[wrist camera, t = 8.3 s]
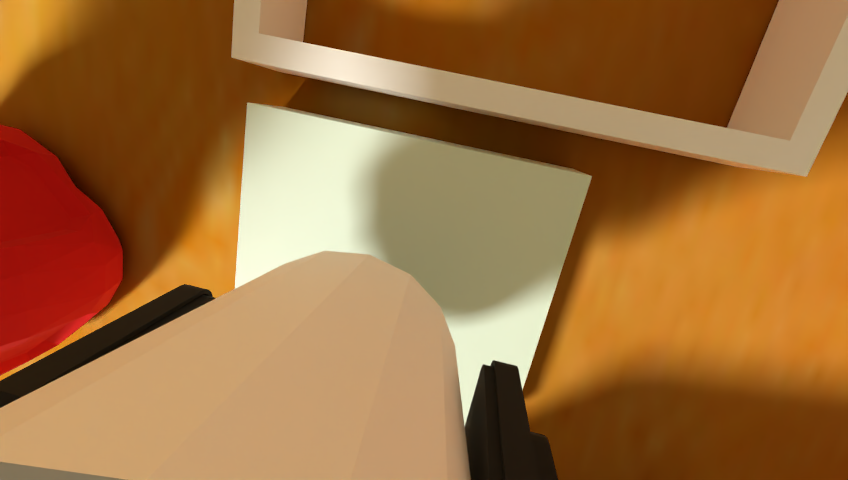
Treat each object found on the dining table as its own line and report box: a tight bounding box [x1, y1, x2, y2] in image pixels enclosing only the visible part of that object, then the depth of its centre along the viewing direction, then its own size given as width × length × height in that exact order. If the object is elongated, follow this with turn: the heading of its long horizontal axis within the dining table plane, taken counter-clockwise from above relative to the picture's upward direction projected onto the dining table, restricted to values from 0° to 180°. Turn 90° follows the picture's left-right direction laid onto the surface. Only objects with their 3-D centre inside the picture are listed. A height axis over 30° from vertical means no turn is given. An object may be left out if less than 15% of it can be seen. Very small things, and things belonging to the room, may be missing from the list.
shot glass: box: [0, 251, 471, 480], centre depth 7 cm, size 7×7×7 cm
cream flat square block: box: [235, 102, 592, 426], centre depth 15 cm, size 11×11×2 cm
